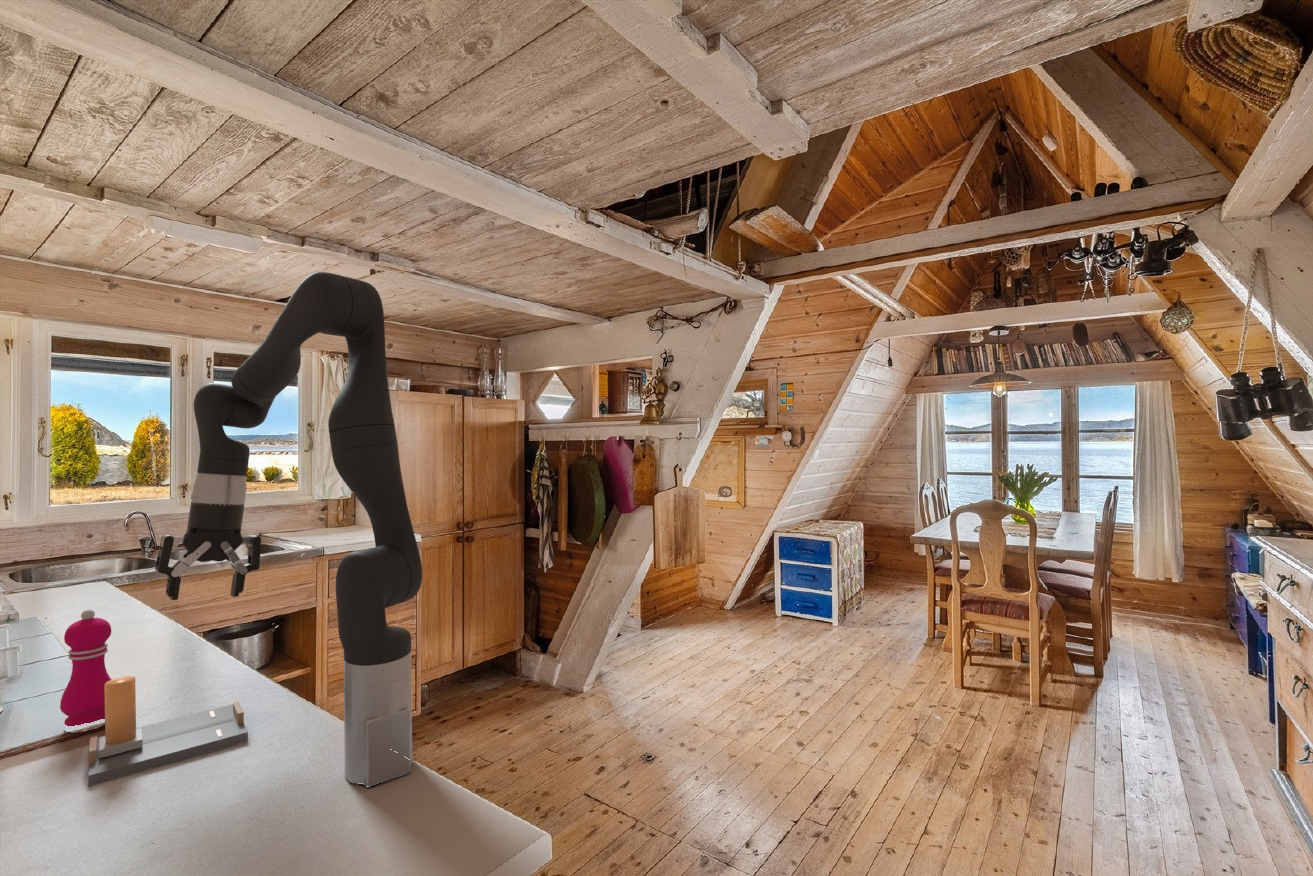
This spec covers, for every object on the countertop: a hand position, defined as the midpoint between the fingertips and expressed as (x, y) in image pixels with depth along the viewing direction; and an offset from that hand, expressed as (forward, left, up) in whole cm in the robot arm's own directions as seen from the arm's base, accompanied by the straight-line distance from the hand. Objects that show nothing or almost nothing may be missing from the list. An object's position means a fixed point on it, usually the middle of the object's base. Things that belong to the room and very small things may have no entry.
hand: (205, 597), depth 104 cm
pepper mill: (+17, +15, -23) cm, 32 cm away
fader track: (-1, +5, -23) cm, 23 cm away
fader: (-1, +11, -21) cm, 24 cm away
